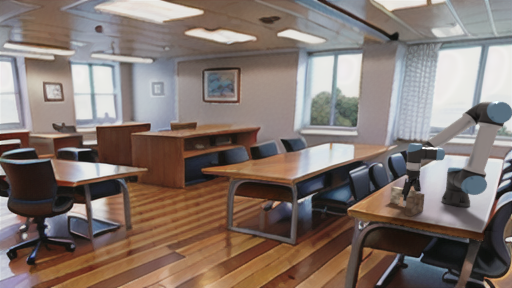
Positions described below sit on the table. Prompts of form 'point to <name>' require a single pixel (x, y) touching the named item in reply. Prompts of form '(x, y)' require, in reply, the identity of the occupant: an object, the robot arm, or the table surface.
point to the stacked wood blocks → (399, 194)
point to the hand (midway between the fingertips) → (410, 203)
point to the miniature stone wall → (414, 204)
